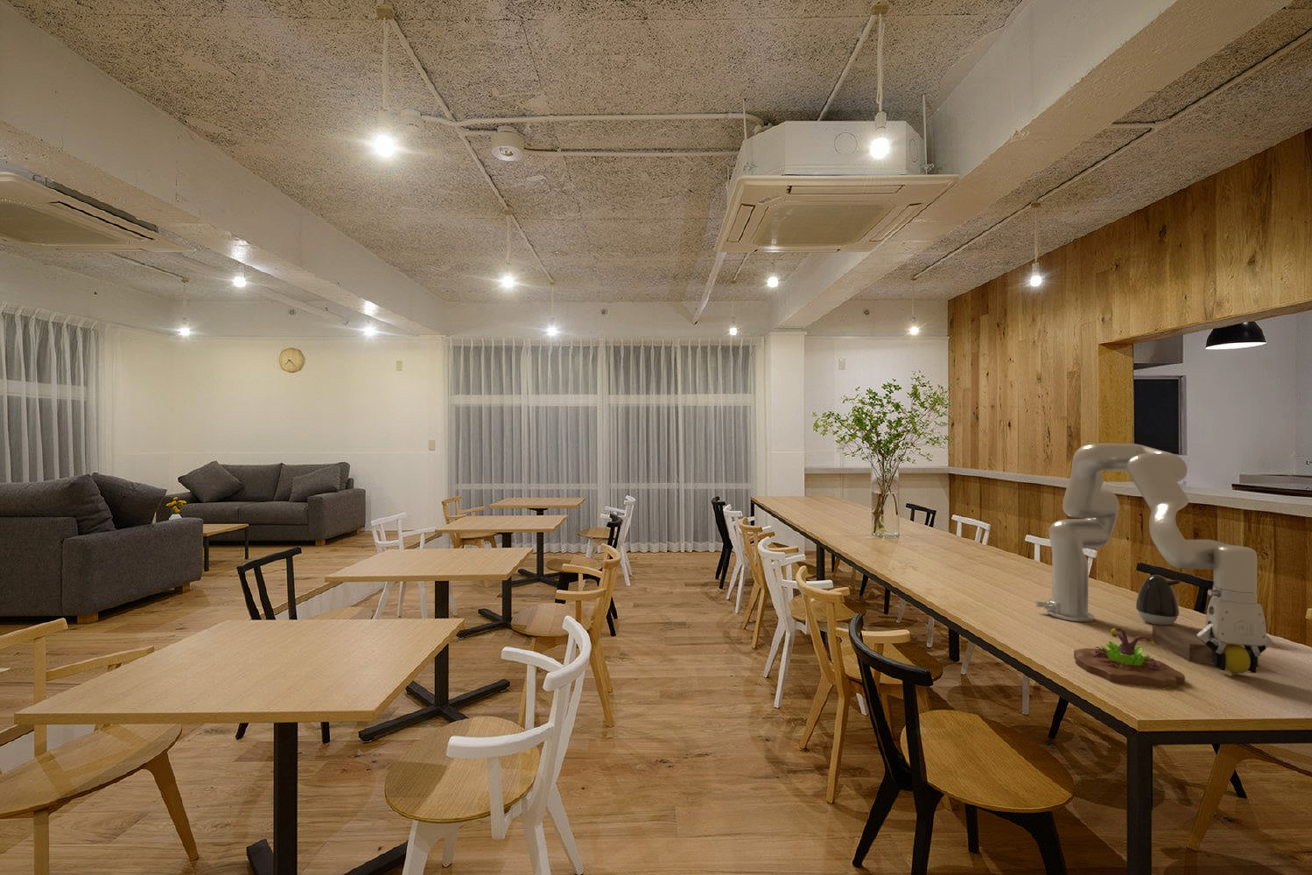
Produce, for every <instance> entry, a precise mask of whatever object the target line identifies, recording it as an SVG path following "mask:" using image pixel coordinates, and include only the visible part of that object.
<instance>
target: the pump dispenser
mask: <svg viewBox="0 0 1312 875" xmlns="http://www.w3.org/2000/svg"><path fill="white" fill-rule="evenodd" d="M1178 584H1181V582H1180V580H1179V579H1176V580H1175V579H1174V580H1168V579H1167V578H1166V577H1164V576H1162V575H1160V574H1152V575H1149V576H1148V577H1147V578H1146V579H1145V580H1144V581H1143V583H1142V585H1141V586H1140V589H1139V591H1138V594H1137V598H1136V603H1135V609H1136V610H1137V613H1138V616H1140V619H1142V620H1144V621H1145V622H1146V623H1149V624H1151V625H1154V626H1163V625H1165V626H1170V625H1173V624H1174V623H1175V622H1176V621H1177V619H1178V617H1179V616H1180V610H1179V604H1178V600H1177V596H1176V593H1175V591H1174V588H1173V587H1172V586H1174V585H1178Z"/></svg>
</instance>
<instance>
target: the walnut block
mask: <svg viewBox="0 0 1312 875" xmlns="http://www.w3.org/2000/svg"><path fill="white" fill-rule="evenodd" d="M1151 625H1152V626H1151V627H1152V633H1151V635H1152V636H1151V637H1152V638H1151V640H1153V642H1154V644H1156V645H1158V646H1160V647H1162V648H1163V649H1166V650H1167V651H1169V652H1171V653H1173V654H1174V655H1177V656H1179V657H1180V658H1182V659H1184V660H1185V661H1187V662H1189V663H1190V662H1191V663H1203V664H1213V663H1212V650H1211V649H1209V647H1208V646H1207V645H1206V644H1204V642H1202V641H1201V640H1200V639H1199V638H1198V637H1197V636H1196V635H1197V634H1198V633H1199V632H1200V631H1202V630H1203V629H1204V628H1195V627H1182V626H1181V627H1180V626H1170V625H1166V626H1163V625H1155V624H1151ZM1208 639H1209V640H1210V641H1212V639H1213V638H1211V637H1208ZM1240 646H1242V647H1243V648H1244V649H1245V647H1244V645H1240ZM1257 668H1259V657H1257Z"/></svg>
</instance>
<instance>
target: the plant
mask: <svg viewBox="0 0 1312 875" xmlns="http://www.w3.org/2000/svg"><path fill="white" fill-rule="evenodd" d="M1119 632H1121V634H1120V633H1119ZM1110 635H1111V637H1113V638H1117V637H1118V639H1119V640H1120V641H1121V642H1120V644H1117V643H1115V642H1113V641H1108V642H1107V643H1105V645H1106V647H1105V646H1102V645H1100V647H1099V646H1095V648H1094V647H1093V648H1090V647H1089V648H1087V647H1086V648H1085V647H1084V648H1080V649H1075V650H1073V658H1074V662H1075V664H1076V666H1078V667H1079V668H1080V669H1082V670H1084V671H1085V672H1087V673H1089V674H1092V675H1095V676H1098V677H1100V678H1102V679H1104V680H1106V681H1108V682H1110V683H1113V684H1120V685H1133V686H1139V687H1153V688H1160V689H1163V688H1165V689H1166V688H1169V689H1176V688H1177V686H1183V687H1184V686H1185V685H1186V676H1185V674H1184V673H1182V672H1181V671H1179V670H1178V669H1175V668H1174V667H1172V666H1170V665H1168V664H1166V663H1164V662H1163V661H1160V660H1157V659H1155V658H1154V657H1152V655H1151V654H1146V655H1142V653H1143V652H1144V649H1143V648H1142V647H1141V646H1137V643H1138V642H1139V641H1140V640H1142V639H1145V640H1146V641H1147V645H1149V646H1154V645H1155V643H1154V642H1153V640H1152V638H1149V637H1147V636H1145V635H1142V636H1136V637H1134V639H1132V640H1131V641H1130V642H1129V639H1128V635H1127V634H1126V631H1124V629H1123V628H1122V627H1114V628H1112V629H1111V630H1110ZM1107 648H1109V649H1107Z"/></svg>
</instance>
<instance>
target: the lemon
mask: <svg viewBox="0 0 1312 875" xmlns="http://www.w3.org/2000/svg"><path fill="white" fill-rule="evenodd" d="M1222 653H1223V654H1225V670H1226V671H1228V672H1229V673H1230V674H1231V675H1233V676H1236V675H1239V674H1244V673H1245V672H1248V669H1249V667H1250V656H1249V654H1248V652H1247V651H1246V650H1245V649H1244V648H1243V647H1242V646H1240V645H1235V644H1226V646H1225V648H1224V650H1223V652H1222Z"/></svg>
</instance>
